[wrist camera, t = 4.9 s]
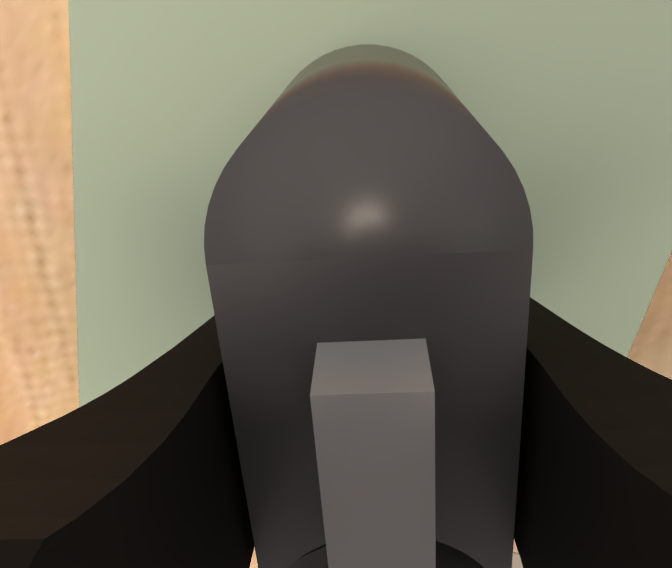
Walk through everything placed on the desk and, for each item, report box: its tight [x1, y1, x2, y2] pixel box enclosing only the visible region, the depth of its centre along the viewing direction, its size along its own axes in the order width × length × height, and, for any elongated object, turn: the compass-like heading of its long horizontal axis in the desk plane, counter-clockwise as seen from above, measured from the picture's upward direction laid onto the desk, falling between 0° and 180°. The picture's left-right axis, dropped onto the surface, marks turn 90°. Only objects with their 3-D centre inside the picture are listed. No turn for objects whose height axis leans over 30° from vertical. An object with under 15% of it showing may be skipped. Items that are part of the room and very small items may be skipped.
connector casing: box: [204, 44, 533, 568], centre depth 9 cm, size 3×9×6 cm, turn 4°
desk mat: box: [69, 0, 672, 407], centre depth 17 cm, size 16×16×1 cm
